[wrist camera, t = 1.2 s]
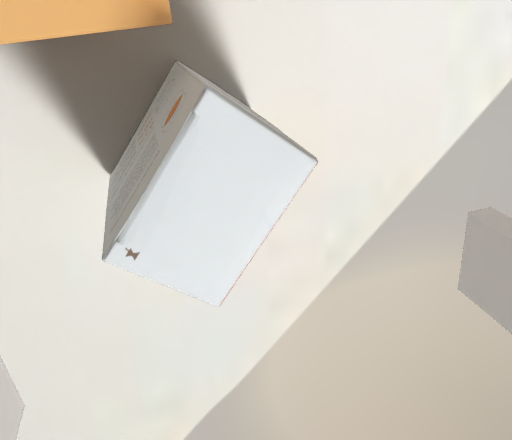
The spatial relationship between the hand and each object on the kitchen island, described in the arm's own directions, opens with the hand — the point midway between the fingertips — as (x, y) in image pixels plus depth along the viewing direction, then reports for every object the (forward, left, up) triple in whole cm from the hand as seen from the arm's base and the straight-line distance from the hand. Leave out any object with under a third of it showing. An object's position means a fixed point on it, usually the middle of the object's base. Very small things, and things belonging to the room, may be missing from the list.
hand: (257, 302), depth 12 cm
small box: (0, 0, -17) cm, 17 cm away
